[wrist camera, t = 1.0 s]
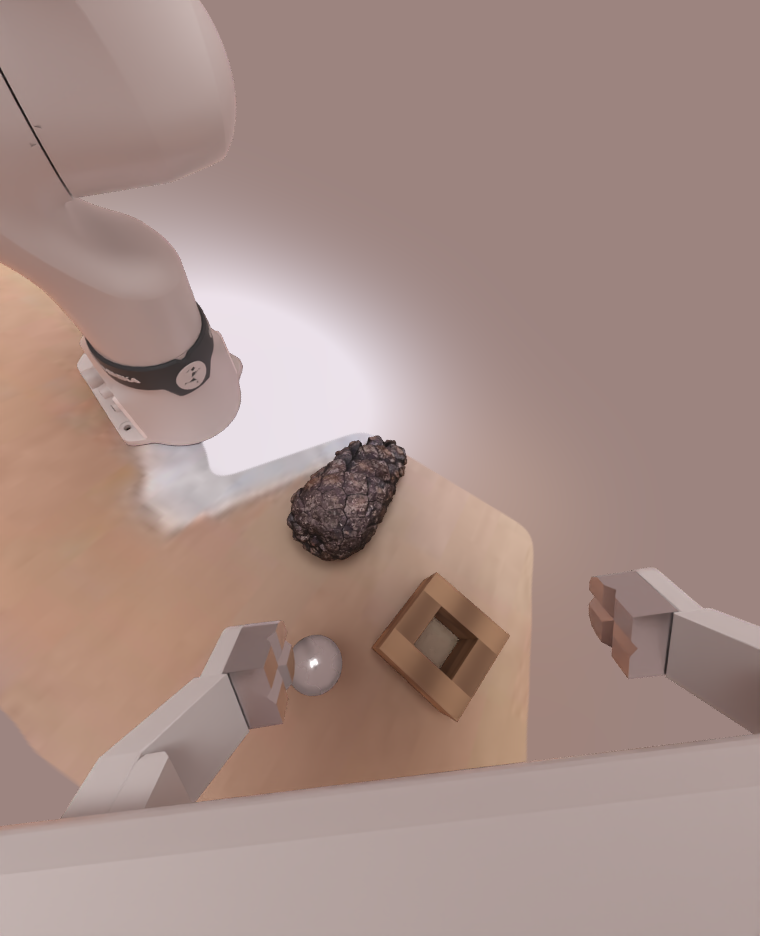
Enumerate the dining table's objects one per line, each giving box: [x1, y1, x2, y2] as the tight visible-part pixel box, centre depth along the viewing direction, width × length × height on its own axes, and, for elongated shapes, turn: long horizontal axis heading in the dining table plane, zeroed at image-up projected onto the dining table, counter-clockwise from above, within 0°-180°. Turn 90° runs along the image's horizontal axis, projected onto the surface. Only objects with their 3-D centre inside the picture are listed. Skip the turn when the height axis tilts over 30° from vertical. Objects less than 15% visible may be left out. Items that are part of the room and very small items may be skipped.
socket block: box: [372, 572, 510, 722], centre depth 43 cm, size 10×10×6 cm
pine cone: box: [287, 436, 407, 561], centre depth 47 cm, size 10×18×10 cm, turn 152°
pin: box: [292, 635, 342, 696], centre depth 39 cm, size 5×5×10 cm
